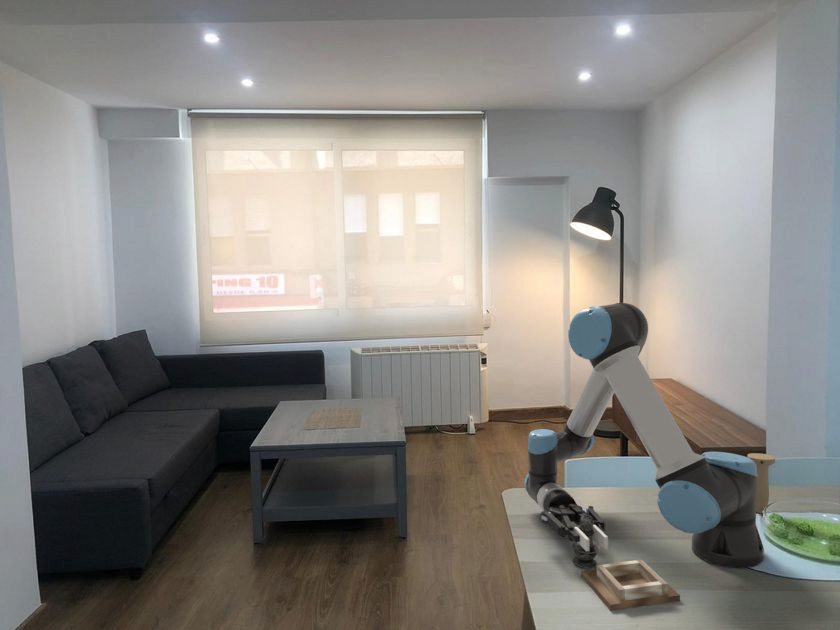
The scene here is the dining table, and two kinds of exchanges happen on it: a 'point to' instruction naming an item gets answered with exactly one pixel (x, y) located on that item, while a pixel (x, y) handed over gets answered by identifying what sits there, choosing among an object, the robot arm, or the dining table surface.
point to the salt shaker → (584, 556)
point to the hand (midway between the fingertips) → (596, 544)
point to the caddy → (629, 585)
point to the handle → (762, 478)
